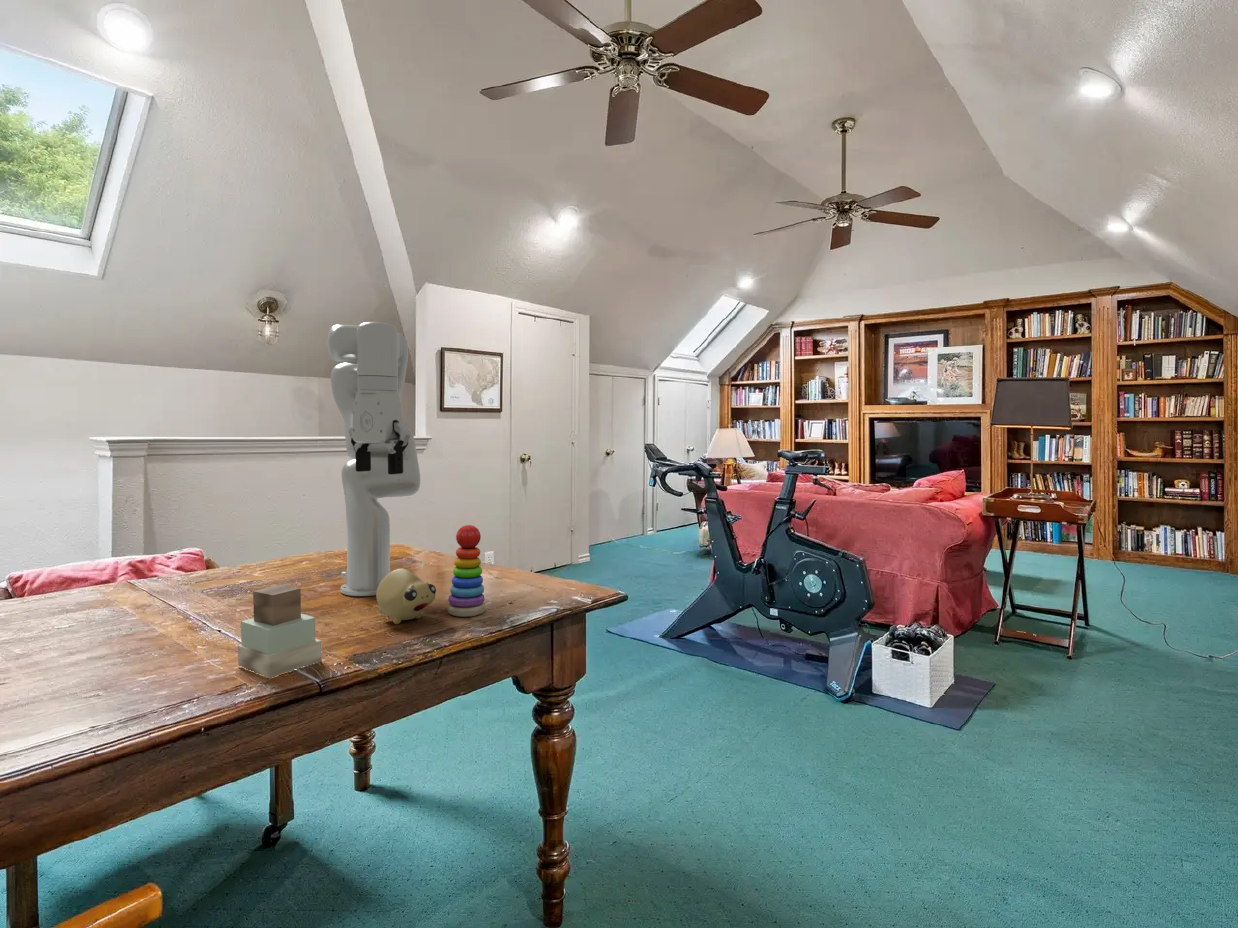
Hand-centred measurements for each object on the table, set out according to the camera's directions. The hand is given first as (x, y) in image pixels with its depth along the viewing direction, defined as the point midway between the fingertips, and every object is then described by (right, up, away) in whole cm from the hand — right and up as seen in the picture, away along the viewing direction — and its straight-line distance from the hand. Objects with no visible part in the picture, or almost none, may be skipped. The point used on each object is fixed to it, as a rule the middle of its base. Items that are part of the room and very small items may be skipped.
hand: (379, 472), depth 130 cm
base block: (-9, -32, -21) cm, 39 cm away
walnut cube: (-9, -24, -22) cm, 34 cm away
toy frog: (+5, -31, +3) cm, 31 cm away
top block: (-9, -28, -21) cm, 36 cm away
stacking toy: (+15, -30, +9) cm, 35 cm away
